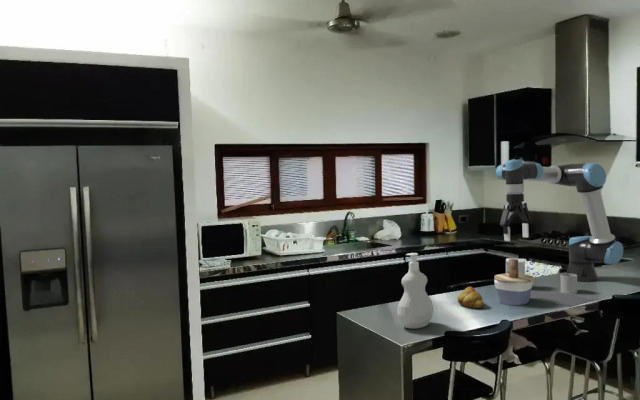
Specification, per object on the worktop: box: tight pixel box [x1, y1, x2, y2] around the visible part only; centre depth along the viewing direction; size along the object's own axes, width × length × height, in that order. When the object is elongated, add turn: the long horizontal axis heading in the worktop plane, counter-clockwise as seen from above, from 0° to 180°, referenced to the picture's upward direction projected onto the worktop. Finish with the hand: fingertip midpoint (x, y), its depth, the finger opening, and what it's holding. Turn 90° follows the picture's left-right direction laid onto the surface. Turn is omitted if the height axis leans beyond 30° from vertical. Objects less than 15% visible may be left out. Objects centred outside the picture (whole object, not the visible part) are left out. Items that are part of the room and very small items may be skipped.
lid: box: [493, 258, 535, 283], centre depth 224 cm, size 17×17×9 cm
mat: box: [529, 290, 594, 308], centre depth 226 cm, size 18×22×1 cm
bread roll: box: [457, 286, 485, 309], centre depth 222 cm, size 13×10×8 cm
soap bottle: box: [396, 252, 434, 330], centre depth 196 cm, size 17×12×29 cm
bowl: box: [493, 279, 534, 307], centre depth 225 cm, size 15×15×11 cm
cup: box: [560, 272, 578, 295], centre depth 238 cm, size 7×10×9 cm
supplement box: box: [505, 258, 526, 275], centre depth 250 cm, size 9×9×15 cm
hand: (516, 239), depth 226 cm, fingers open, 13 cm apart
